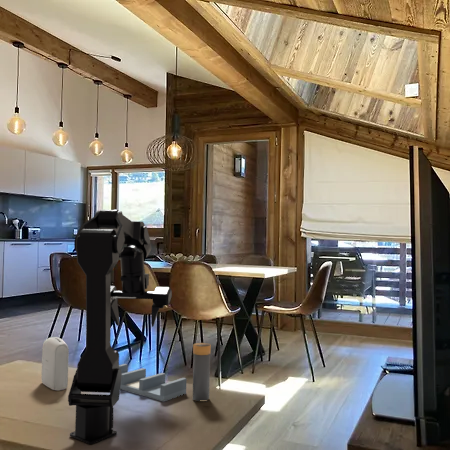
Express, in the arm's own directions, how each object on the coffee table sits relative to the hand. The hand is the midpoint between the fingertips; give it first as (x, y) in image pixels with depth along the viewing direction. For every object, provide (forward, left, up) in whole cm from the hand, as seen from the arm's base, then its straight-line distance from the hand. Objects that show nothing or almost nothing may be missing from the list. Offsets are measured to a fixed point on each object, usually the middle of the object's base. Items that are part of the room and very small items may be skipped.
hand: (135, 325), depth 124 cm
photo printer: (-13, +16, -16) cm, 26 cm away
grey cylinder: (+3, -20, -16) cm, 26 cm away
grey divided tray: (0, -3, -16) cm, 16 cm away
